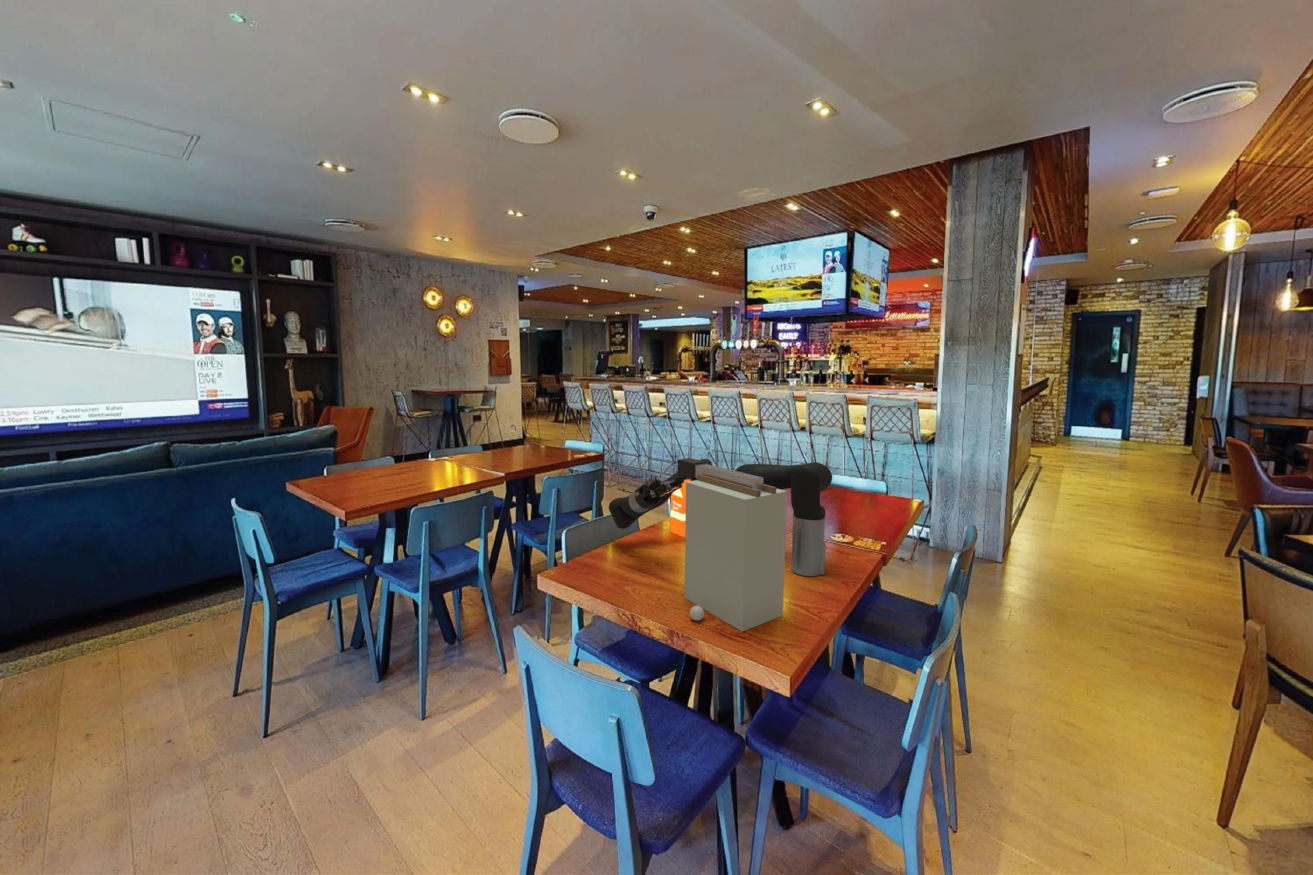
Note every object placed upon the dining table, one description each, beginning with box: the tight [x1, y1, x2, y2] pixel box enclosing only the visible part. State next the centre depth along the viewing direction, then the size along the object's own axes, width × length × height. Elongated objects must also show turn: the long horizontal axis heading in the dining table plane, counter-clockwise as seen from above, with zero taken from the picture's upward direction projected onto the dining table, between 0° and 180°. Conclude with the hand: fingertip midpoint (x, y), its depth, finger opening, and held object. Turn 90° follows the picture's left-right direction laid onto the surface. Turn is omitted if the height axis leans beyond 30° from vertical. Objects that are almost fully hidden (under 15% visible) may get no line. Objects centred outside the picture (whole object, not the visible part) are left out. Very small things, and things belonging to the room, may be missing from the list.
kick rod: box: [676, 457, 763, 492], centre depth 137 cm, size 29×4×4 cm, turn 35°
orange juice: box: [670, 479, 690, 538], centre depth 196 cm, size 8×9×20 cm
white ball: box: [689, 605, 705, 621], centre depth 129 cm, size 4×4×4 cm
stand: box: [684, 474, 788, 633], centre depth 135 cm, size 23×14×34 cm, turn 35°
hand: (671, 480), depth 155 cm, fingers open, 8 cm apart
